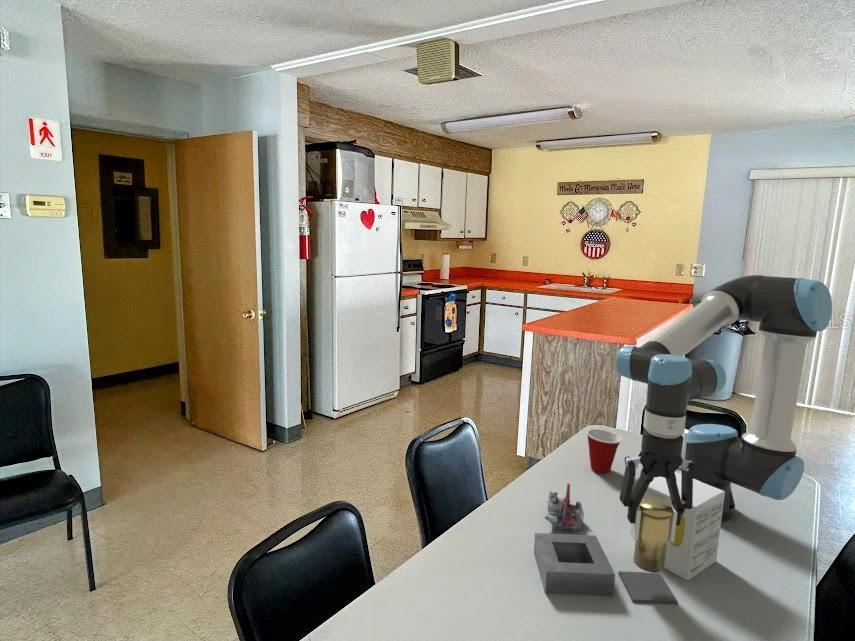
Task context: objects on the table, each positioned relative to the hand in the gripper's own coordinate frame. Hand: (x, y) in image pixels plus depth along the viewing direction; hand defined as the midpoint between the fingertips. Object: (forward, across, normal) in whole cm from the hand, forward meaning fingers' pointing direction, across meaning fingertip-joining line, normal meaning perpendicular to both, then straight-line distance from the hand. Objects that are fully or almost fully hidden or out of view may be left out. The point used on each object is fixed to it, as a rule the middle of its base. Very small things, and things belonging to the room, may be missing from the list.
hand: (651, 537), depth 109 cm
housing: (+12, -15, +4) cm, 19 cm away
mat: (+12, 0, 0) cm, 12 cm away
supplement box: (+12, +11, +12) cm, 20 cm away
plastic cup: (+12, +7, +57) cm, 59 cm away
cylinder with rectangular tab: (+12, +34, +65) cm, 74 cm away
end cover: (+6, 0, 0) cm, 6 cm away
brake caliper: (+12, -12, +25) cm, 30 cm away
